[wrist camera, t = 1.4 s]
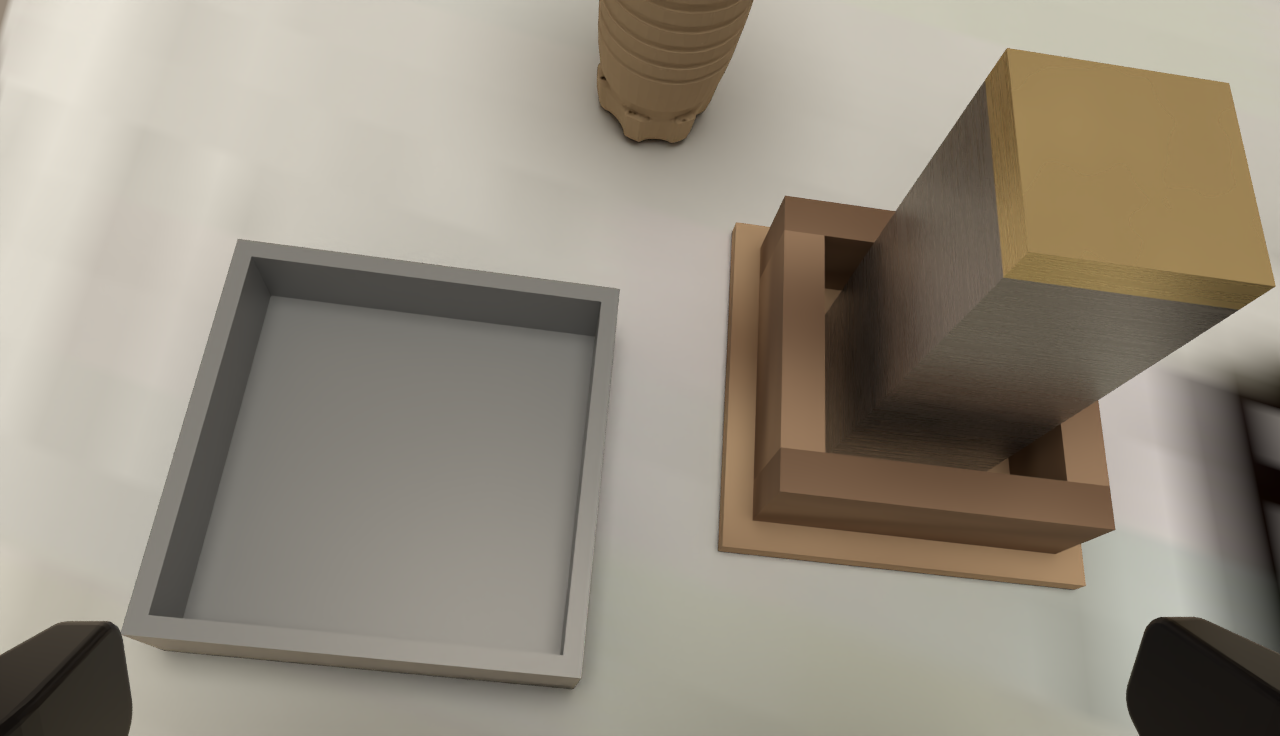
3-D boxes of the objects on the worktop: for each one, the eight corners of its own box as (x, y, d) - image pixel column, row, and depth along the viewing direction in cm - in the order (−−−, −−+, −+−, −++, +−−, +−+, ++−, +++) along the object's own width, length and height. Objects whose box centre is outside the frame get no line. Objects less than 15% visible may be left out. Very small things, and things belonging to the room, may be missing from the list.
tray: (573, 689, 21) (581, 678, 18) (164, 650, 20) (120, 634, 18) (609, 334, 24) (619, 288, 22) (263, 290, 24) (237, 239, 21)
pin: (979, 475, 24) (1275, 285, 14) (825, 457, 23) (1029, 251, 14) (969, 333, 25) (1228, 83, 16) (825, 314, 25) (1007, 48, 16)
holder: (1074, 589, 23) (1149, 564, 20) (717, 550, 22) (746, 519, 20) (1039, 274, 27) (1099, 217, 24) (732, 232, 26) (757, 168, 23)
